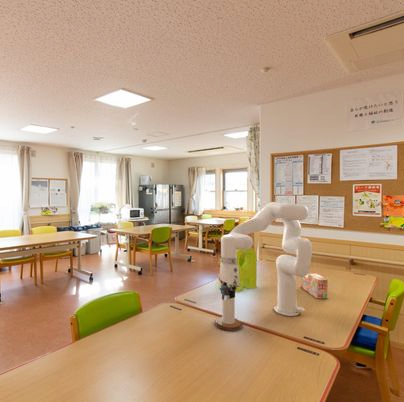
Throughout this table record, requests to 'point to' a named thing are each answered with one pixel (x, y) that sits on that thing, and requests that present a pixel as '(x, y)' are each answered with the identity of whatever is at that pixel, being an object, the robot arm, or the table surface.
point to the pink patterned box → (315, 285)
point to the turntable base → (228, 328)
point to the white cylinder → (227, 310)
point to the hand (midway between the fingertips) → (228, 295)
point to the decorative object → (247, 269)
